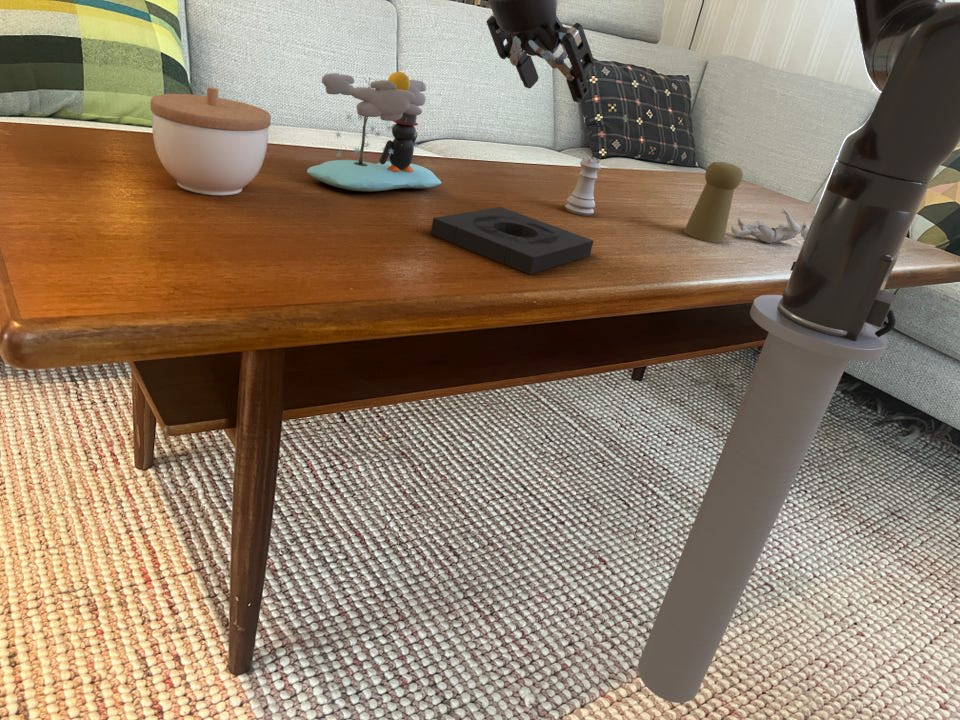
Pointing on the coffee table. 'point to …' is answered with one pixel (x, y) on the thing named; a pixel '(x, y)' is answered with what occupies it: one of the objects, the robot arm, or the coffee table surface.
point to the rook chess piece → (584, 188)
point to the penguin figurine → (390, 105)
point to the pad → (512, 239)
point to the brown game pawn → (714, 203)
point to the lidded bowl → (209, 141)
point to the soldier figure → (772, 230)
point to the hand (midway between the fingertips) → (556, 90)
